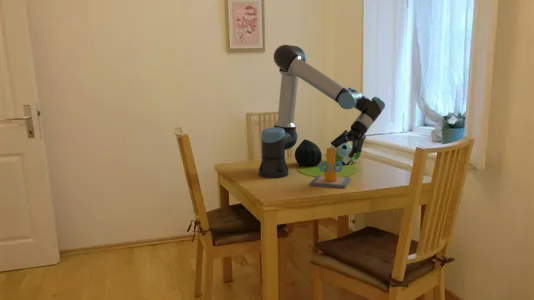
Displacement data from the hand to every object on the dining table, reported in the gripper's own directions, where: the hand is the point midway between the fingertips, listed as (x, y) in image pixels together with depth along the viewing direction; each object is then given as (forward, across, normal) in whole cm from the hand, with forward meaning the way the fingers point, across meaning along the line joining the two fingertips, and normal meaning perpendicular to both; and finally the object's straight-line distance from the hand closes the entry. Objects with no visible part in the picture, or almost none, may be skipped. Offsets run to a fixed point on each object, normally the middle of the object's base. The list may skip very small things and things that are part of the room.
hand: (335, 159), depth 196 cm
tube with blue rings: (+8, +1, -6) cm, 10 cm away
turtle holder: (-15, +34, -31) cm, 48 cm away
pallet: (+9, +1, -6) cm, 11 cm away
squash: (0, +40, -15) cm, 43 cm away
